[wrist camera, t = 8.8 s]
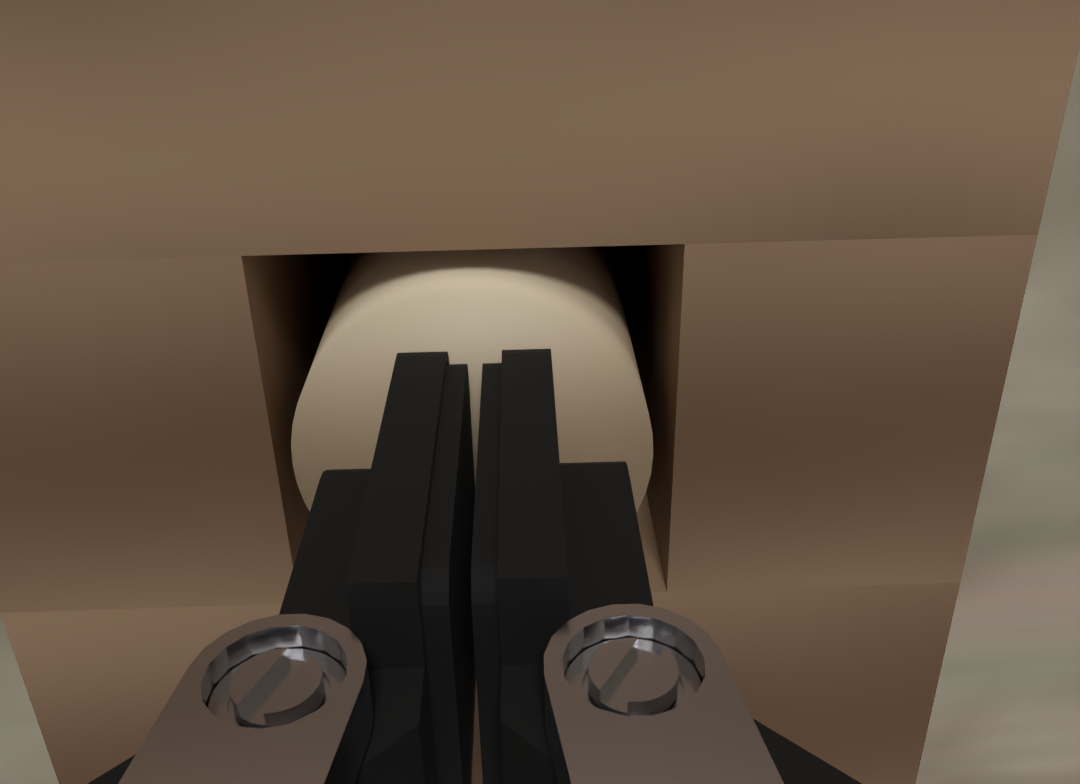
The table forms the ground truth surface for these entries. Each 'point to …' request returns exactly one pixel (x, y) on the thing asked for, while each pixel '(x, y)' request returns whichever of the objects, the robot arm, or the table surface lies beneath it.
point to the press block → (512, 223)
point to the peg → (476, 350)
